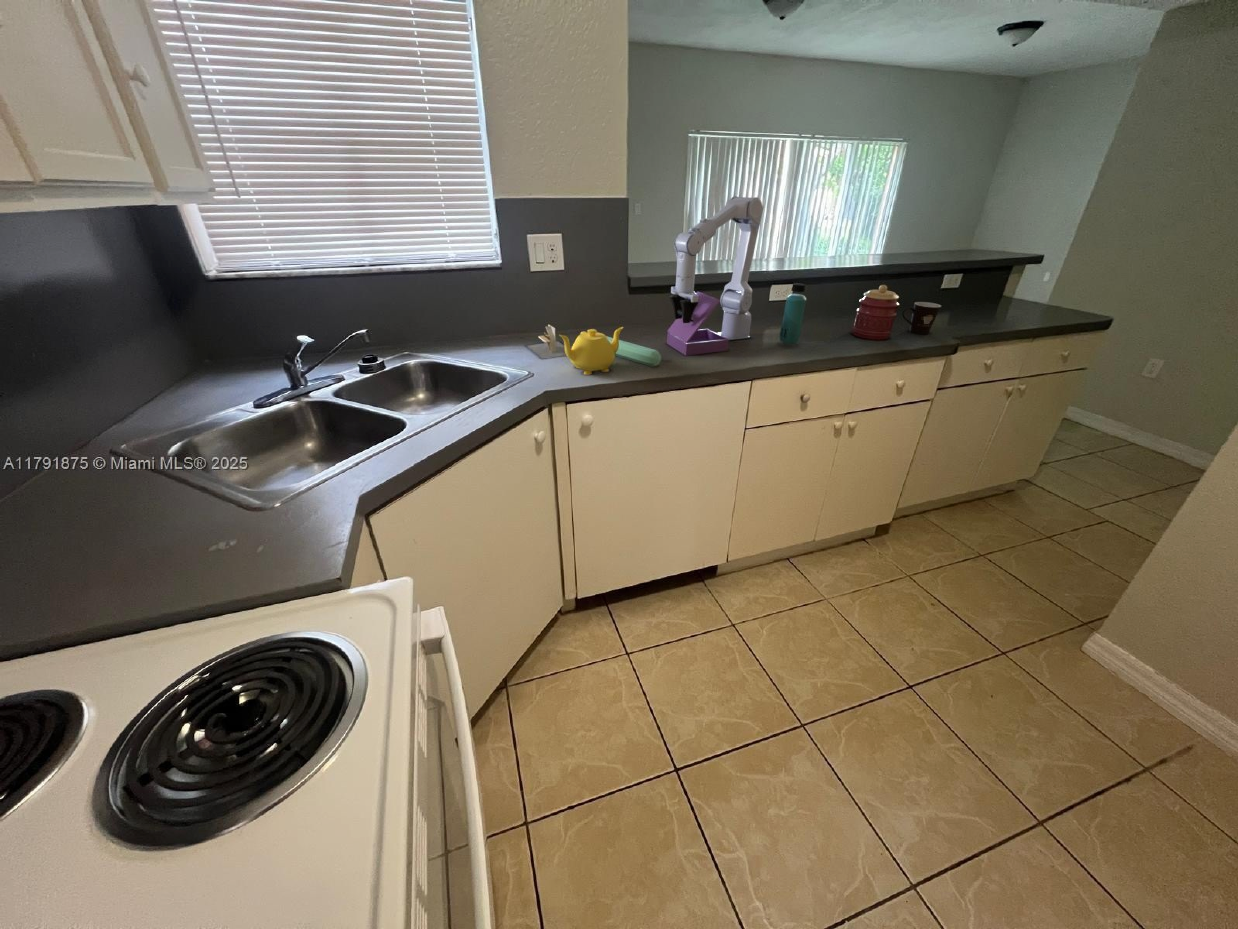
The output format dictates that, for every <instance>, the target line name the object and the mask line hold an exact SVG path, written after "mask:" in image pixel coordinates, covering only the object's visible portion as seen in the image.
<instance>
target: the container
mask: <svg viewBox="0 0 1238 929" xmlns="http://www.w3.org/2000/svg"><path fill="white" fill-rule="evenodd" d="M605 336H606V337H607V338H608V340H609V342H610V343H612V341H613V337H611V336H607V335H605ZM615 357H619V358H622V359H625V360H628V361H632V362H635V363H638V364H642V365H645V366H648V367H651V368H653V367H656V366H659V364H660V363H661V360H662V354H661V353H660V352H659V350H657V349H654V348H650V347H646V346H642V345H639V344H635V343H633V342H628V341H625V340H621V339H619V348H618V350H617V352H616V353H615Z"/></svg>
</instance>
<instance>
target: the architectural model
mask: <svg viewBox="0 0 1238 929" xmlns="http://www.w3.org/2000/svg"><path fill="white" fill-rule="evenodd" d="M545 330H546V332H547V333H546V332H545V331H544V332H543V334H542V335H537V337H538V338H539V340H541V341H542V342H543V343H537V344H536V343H535V344H529V345H526V347H527V348H528V349H529V350H531V351H532V352H533V353H535V354H536V355H537V356H538V357H539V358H541V359H542V360H543V359H549V358H557V357H563V356H567V355H566V353H565V345H564V344H563V343H561V342H560V341H557V338H556V328H555V327H554V326H553V325H551V324H547V325H546V326H545Z"/></svg>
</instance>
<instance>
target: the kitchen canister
mask: <svg viewBox="0 0 1238 929" xmlns="http://www.w3.org/2000/svg"><path fill="white" fill-rule="evenodd" d="M863 296H864V297H863V298H862V297H861V298H860V299H859V303H860V304H859V306H858V307H859V308H857V309H856V314H855V319H854V322H853V325H852V328H851V334H852V335H853V336H856V337H858V338H861V339H865V340H866V339H867V340H876V341H877V340H879V341H881V340H882V341H883V340H887V339H889V338H890V336H891V334H892V330H893V326H894V324H895V320H896V317H897V309H898V307H899V306H901V305H900V302H898V300H899V298H900V296H899V295H898V294H896V292H894V291H891V290H888V286H887V285H886V284H881V285H880V286H879V287H878V289H869V290H868V291H866V292H864V293H863Z"/></svg>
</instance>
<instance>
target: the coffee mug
mask: <svg viewBox="0 0 1238 929" xmlns="http://www.w3.org/2000/svg"><path fill="white" fill-rule="evenodd" d="M941 308H942V305H941V304H938V303H934V302H928V301H916V302H914V304H913V307H911V306H909V307H905V308H904V309H902V311H901V316H902V318H903V319H904V320H905V321H906V322H907V323H908V324H909V332H910V333H912V334H918V335H928V334H929V333H930V331H931V329H932V327H933V325H934V322H935V320H936V318H937V316H938V314H939V312H940V310H941ZM907 310H911V311H912V315H911V321H910V320H909V319H908V318H906V317H905V315H904V314H905V311H907Z"/></svg>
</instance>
